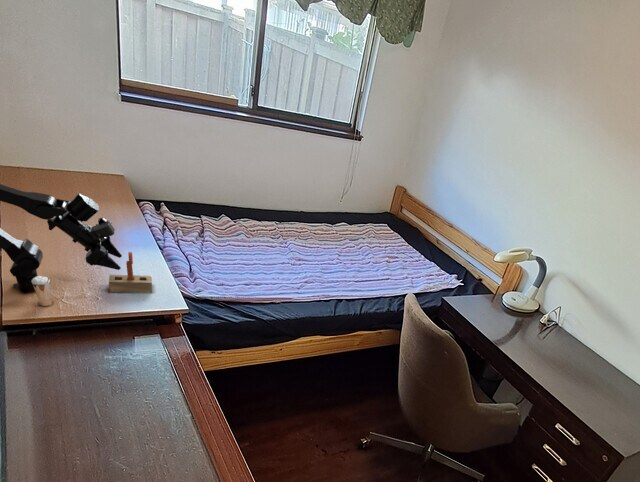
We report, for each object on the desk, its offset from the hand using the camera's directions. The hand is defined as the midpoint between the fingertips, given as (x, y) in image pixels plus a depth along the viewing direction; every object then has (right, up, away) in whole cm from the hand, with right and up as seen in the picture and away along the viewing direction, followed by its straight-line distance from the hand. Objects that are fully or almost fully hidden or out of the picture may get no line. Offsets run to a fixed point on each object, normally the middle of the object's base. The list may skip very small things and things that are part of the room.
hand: (120, 262), depth 154 cm
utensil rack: (0, -8, +7) cm, 10 cm away
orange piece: (0, -8, +7) cm, 10 cm away
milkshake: (-17, -15, -11) cm, 25 cm away
